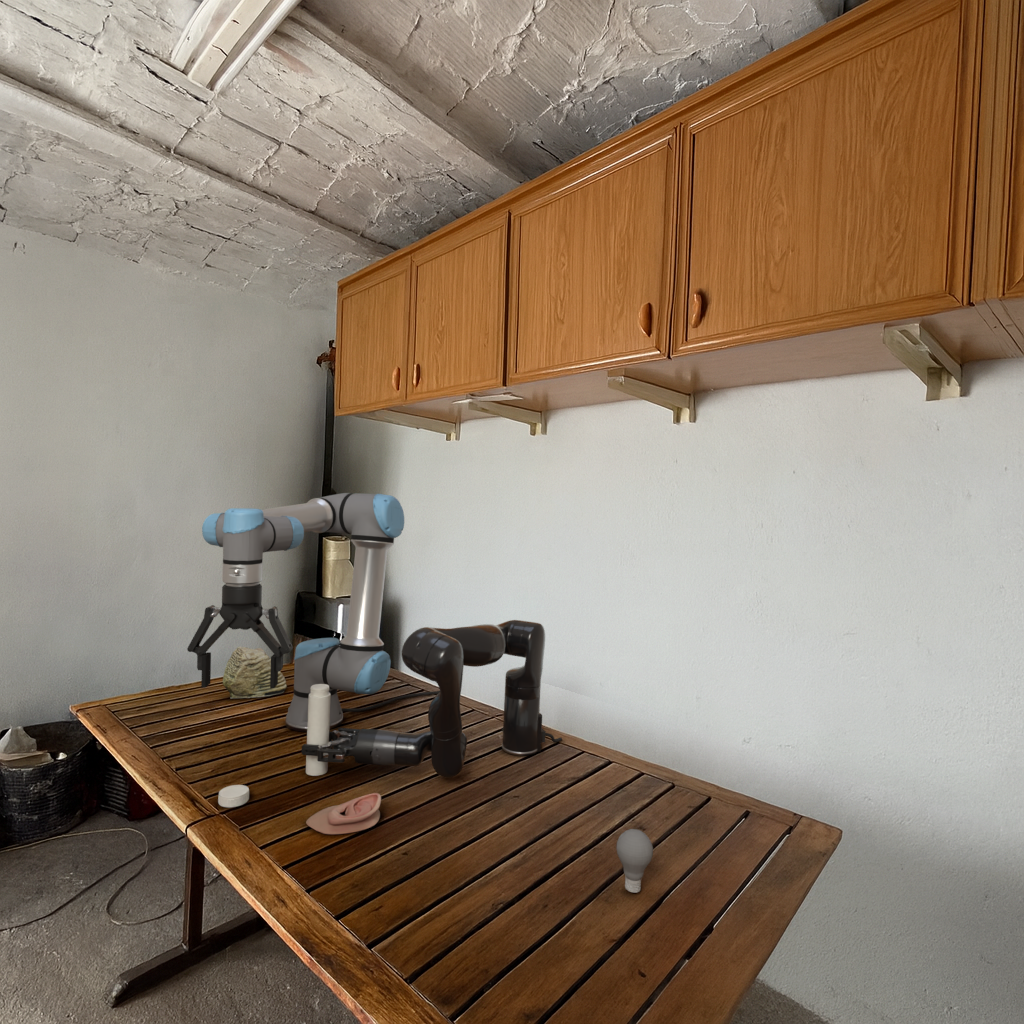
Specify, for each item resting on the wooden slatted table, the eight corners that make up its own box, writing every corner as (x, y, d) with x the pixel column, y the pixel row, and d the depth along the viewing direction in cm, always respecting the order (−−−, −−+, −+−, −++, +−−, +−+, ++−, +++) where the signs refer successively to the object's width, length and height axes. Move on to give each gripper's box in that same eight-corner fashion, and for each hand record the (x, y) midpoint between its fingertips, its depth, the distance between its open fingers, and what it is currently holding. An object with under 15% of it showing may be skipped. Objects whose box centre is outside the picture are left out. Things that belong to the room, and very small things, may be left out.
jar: (303, 775, 143) (306, 689, 143) (308, 766, 148) (311, 683, 148) (325, 775, 144) (328, 689, 143) (329, 766, 149) (332, 683, 148)
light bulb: (610, 879, 108) (613, 822, 108) (644, 879, 109) (647, 822, 109) (619, 902, 102) (622, 840, 102) (655, 901, 103) (658, 840, 103)
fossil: (218, 695, 195) (220, 647, 195) (278, 685, 208) (279, 640, 207) (228, 703, 189) (230, 653, 188) (289, 692, 201) (290, 645, 201)
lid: (250, 804, 129) (250, 794, 129) (219, 810, 126) (219, 799, 126) (247, 792, 134) (247, 782, 134) (217, 797, 132) (217, 787, 131)
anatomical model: (298, 809, 120) (327, 783, 131) (297, 830, 120) (327, 802, 131) (363, 819, 117) (388, 791, 128) (362, 840, 117) (387, 811, 128)
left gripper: (170, 584, 125) (168, 691, 126) (300, 587, 127) (297, 692, 128) (186, 579, 132) (185, 679, 133) (308, 582, 135) (306, 681, 135)
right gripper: (387, 720, 152) (321, 715, 153) (370, 742, 138) (297, 737, 139) (386, 751, 152) (320, 746, 153) (368, 777, 138) (296, 771, 139)
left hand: (240, 686), depth 131 cm, fingers open, 13 cm apart
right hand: (309, 742), depth 146 cm, fingers open, 8 cm apart
